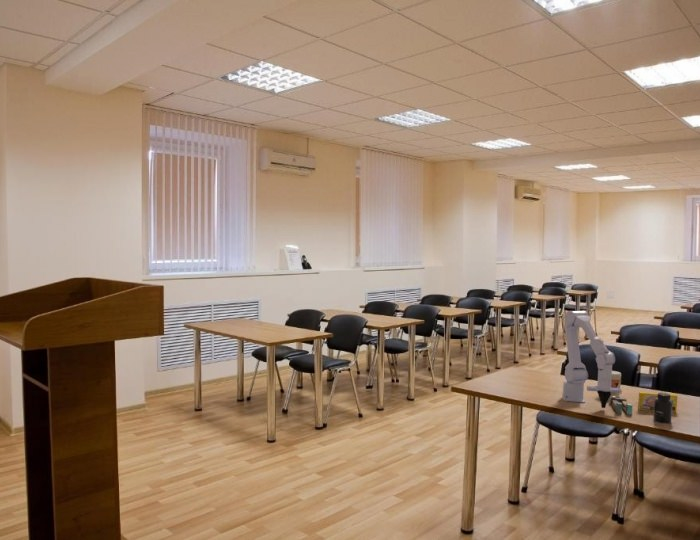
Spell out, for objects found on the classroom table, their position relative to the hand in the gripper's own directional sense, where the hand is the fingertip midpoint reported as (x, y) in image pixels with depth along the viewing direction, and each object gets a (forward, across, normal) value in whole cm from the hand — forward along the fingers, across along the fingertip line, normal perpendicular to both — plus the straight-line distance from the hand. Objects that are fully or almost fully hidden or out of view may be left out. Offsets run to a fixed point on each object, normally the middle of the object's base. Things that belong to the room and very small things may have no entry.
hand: (603, 407), depth 251 cm
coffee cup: (+1, +8, +30) cm, 31 cm away
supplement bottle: (+2, +22, -8) cm, 24 cm away
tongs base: (+1, +8, +5) cm, 10 cm away
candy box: (+2, +24, +9) cm, 26 cm away
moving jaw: (+1, +6, +3) cm, 7 cm away
